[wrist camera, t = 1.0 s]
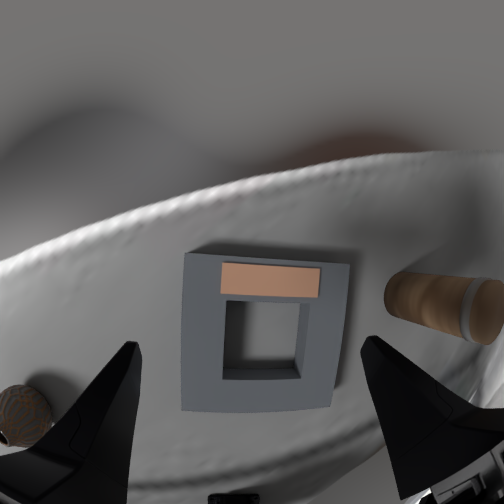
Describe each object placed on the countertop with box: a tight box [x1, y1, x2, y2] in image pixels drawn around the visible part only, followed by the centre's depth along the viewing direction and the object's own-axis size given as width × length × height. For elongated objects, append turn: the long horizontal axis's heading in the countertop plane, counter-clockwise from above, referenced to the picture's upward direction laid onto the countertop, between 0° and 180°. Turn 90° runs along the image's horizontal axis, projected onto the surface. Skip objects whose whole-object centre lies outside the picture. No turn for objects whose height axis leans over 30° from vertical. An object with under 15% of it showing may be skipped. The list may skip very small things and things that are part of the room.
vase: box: [0, 385, 52, 448], centre depth 16 cm, size 7×7×9 cm
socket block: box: [181, 253, 350, 413], centre depth 23 cm, size 14×14×3 cm
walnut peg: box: [384, 272, 504, 345], centre depth 21 cm, size 5×5×13 cm
